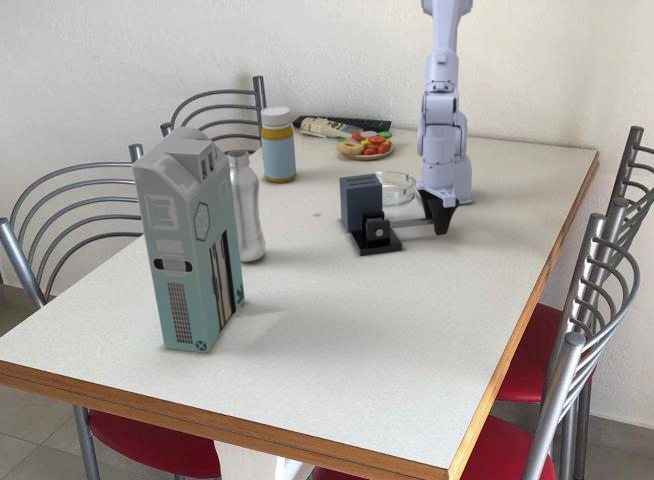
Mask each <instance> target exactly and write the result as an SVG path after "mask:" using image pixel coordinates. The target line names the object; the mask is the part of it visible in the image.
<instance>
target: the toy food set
mask: <svg viewBox="0 0 654 480" xmlns="http://www.w3.org/2000/svg"><path fill="white" fill-rule="evenodd" d="M392 137H393V133H392V132H391V131H380V132H376V131H373V130H366V131H362V132H360V131H356V132H353V133H352V134H351V136H348V137H346V138H345V137H344V138H343V137H341V138H339V139H338V143H337V144H336V149H335V150H336V151H338V152H339V153H342V154H343V155H344V156H345V157H347V158H349V159H351V160H358V161H374V160H379V159H383V158H385V157H387V156H388V155H390V154H391V153H392V152H393V150H394V149H395V145H394V143H393V142H392V141H391V140H390V139H391V138H392Z"/></svg>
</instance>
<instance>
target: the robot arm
mask: <svg viewBox="0 0 654 480" xmlns="http://www.w3.org/2000/svg"><path fill="white" fill-rule="evenodd" d="M420 7H421V9H422V13H423V14H425V15H428V16H430V17H431V18H432V27H433V28H432V29H433V50H432V51H431V52H429V54H428V55H427V56H426V61H425V62H426V63H425V75H424V76H425V77H424V94H422V95H421V98H420V100H421V101H420V117H419V118H418V126H417V133H416V134H417V135H416V154H417V155H418V156H419V157H422V168H421V169H420V179H421V180H420V181H418V182H416V183H415V187H416V188H415V189H416V190H417V192H416V195H417V196H418V198H419V199H420V201H421V203H422V207H423V212H424V218H430V213H432V216H433V223H434V224H433V231H434V234H435V236H443V235H447V234H448V231H449V228H450V225H451V221H452V218H453V216H454V215H455V212H456V211H457V209H458V207H459V206H460V205H464V204H471V203H472V202H473V200H472V179H473V167H472V162H471V159H470V157H469V155H468V154H467V151H468V150H467V149H468V128H469V127H468V118H467V116H466V114H465V113H463V112H462V111H461V110H460V94H459V85H458V83H459V65H460V58H459V56H458V55H457V52H458V51H457V50H458V49H457V48H458V29H459V25H460V22H461V20H462V17H464V16H466V15H468V14H470V13H471V12H472V9H473V7H474V0H420Z"/></svg>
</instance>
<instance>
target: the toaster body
mask: <svg viewBox="0 0 654 480" xmlns="http://www.w3.org/2000/svg"><path fill="white" fill-rule="evenodd" d="M339 195H340V196H339V197H340V220H341V222H342V225H343V227H344V228H345V230H346V232H347V233H348V234H350V231H355V230H361V214H362V213H370V212H378V211H384V210H383V205H384V204H383V184H382V182H381V180H380V179H379V178H378V177H377V175H376V173H368V174H366V173H365V174H359V175H350V176H344V177H339Z"/></svg>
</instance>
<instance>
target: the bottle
mask: <svg viewBox="0 0 654 480" xmlns="http://www.w3.org/2000/svg"><path fill="white" fill-rule="evenodd" d="M260 117H261V131H260V141H261V142H260V143H261V150H262V162H263V172H264V178H265V179H266V180H267V181H268V182H270V183H273V184H285V183H289V182H292V181H293V180H294V179H295V178H296V177H297V167H296V166H297V164H296V152H295V136H294V129H293V127H292V125H291V110H290V108H289V107H287V106H282V105H281V106H279V105H275V106H268V107H265V108H262V109H261V111H260Z"/></svg>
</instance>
